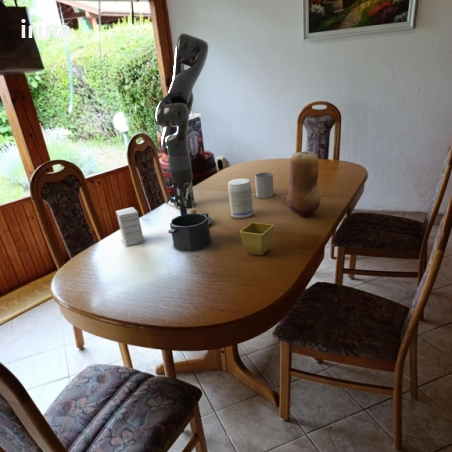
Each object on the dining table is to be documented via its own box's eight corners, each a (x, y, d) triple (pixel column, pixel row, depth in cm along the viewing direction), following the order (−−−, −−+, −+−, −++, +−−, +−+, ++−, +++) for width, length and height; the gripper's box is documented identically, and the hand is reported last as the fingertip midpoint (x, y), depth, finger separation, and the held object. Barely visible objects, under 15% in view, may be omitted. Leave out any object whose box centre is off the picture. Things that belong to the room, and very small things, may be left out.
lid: (170, 227, 169) (167, 212, 166) (194, 216, 179) (191, 201, 175) (196, 233, 161) (194, 217, 157) (219, 221, 170) (218, 205, 167)
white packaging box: (122, 240, 162) (115, 210, 156) (140, 236, 164) (133, 206, 158) (126, 246, 156) (118, 215, 150) (144, 242, 158) (137, 211, 152)
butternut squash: (326, 212, 167) (328, 149, 154) (308, 222, 159) (309, 157, 146) (298, 207, 175) (298, 147, 162) (280, 216, 167) (278, 155, 154)
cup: (254, 197, 193) (252, 177, 188) (259, 192, 199) (258, 172, 194) (270, 198, 190) (270, 177, 184) (275, 193, 196) (275, 172, 191)
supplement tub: (257, 214, 172) (255, 180, 165) (239, 220, 168) (236, 186, 161) (244, 209, 179) (241, 176, 172) (226, 215, 175) (223, 181, 168)
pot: (161, 250, 150) (156, 226, 145) (195, 231, 162) (192, 209, 157) (188, 257, 142) (184, 232, 137) (222, 237, 154) (219, 214, 149)
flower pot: (263, 259, 135) (262, 234, 130) (241, 255, 139) (239, 231, 134) (275, 249, 141) (274, 224, 136) (253, 245, 145) (251, 222, 141)
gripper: (186, 172, 131) (192, 219, 140) (195, 161, 143) (201, 205, 152) (164, 173, 132) (172, 219, 141) (175, 162, 144) (182, 206, 153)
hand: (187, 212), depth 146 cm, fingers open, 8 cm apart
